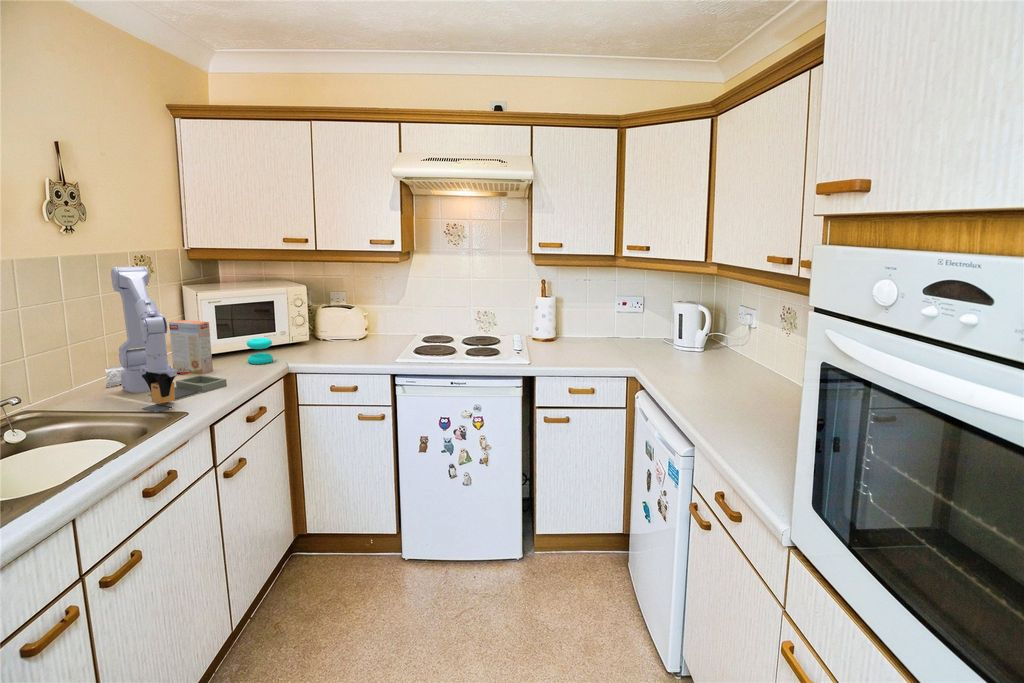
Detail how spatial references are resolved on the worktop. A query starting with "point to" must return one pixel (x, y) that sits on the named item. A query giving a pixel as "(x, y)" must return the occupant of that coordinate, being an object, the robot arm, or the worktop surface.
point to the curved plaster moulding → (113, 375)
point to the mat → (156, 407)
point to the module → (157, 395)
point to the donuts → (259, 344)
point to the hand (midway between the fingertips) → (160, 395)
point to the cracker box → (191, 346)
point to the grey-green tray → (197, 386)
